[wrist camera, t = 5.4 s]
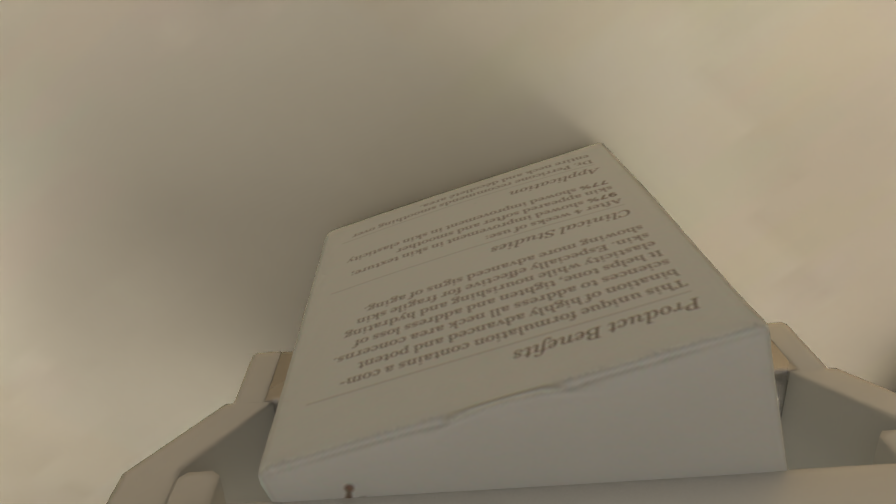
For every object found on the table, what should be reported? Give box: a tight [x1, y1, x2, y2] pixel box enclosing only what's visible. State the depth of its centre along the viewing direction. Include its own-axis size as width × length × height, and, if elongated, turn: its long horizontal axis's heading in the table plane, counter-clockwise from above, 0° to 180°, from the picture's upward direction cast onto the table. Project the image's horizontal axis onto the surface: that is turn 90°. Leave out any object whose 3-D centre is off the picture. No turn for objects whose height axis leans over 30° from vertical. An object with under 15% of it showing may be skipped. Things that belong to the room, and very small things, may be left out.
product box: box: [258, 143, 788, 502], centre depth 12 cm, size 6×6×7 cm
